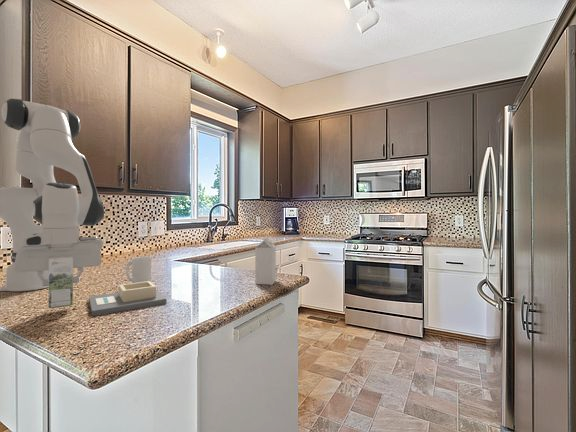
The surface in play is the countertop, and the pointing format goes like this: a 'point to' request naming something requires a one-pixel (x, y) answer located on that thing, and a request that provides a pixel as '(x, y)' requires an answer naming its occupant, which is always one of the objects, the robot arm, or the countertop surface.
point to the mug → (139, 269)
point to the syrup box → (60, 282)
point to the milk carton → (265, 262)
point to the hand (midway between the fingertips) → (61, 284)
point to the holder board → (127, 298)
